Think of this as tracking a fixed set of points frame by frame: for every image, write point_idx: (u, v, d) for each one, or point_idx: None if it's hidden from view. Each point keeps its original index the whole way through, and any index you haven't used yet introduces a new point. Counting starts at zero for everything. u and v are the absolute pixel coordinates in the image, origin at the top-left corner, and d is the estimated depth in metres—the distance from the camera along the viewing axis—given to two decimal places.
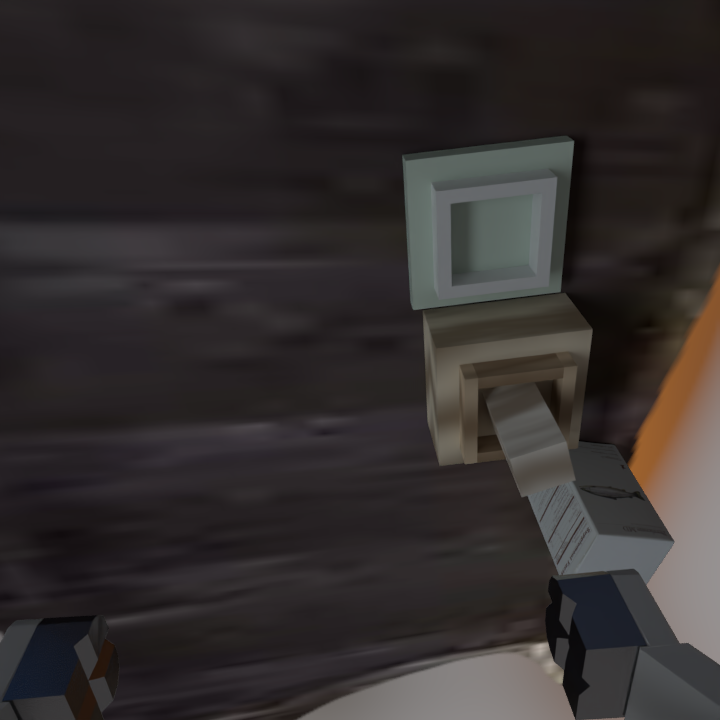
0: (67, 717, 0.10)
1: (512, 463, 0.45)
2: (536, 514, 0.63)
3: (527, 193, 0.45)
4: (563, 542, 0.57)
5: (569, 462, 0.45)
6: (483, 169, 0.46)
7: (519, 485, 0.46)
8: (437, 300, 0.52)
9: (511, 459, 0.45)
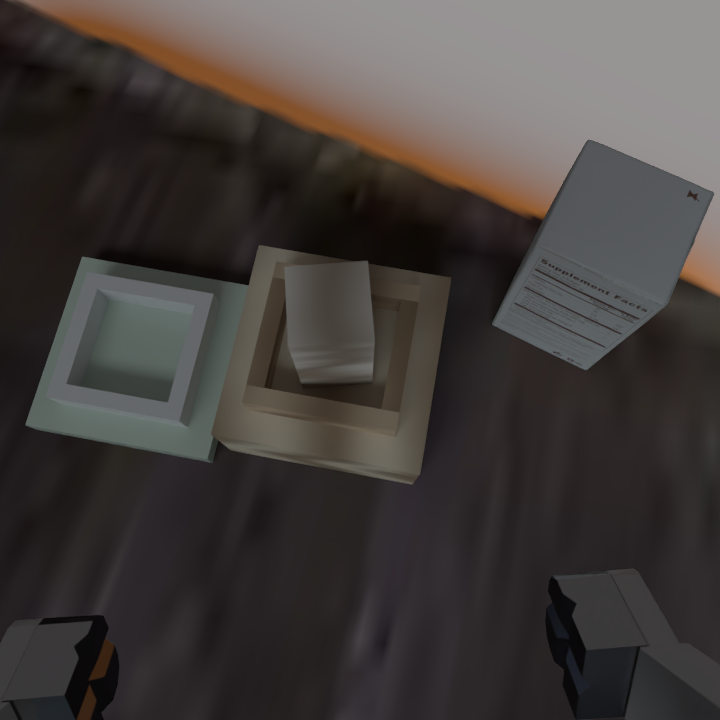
0: (67, 717, 0.10)
1: (297, 343, 0.30)
2: (600, 352, 0.40)
3: (91, 302, 0.42)
4: (596, 305, 0.35)
5: (328, 266, 0.31)
6: None
7: (347, 340, 0.30)
8: (206, 427, 0.41)
9: (289, 344, 0.30)
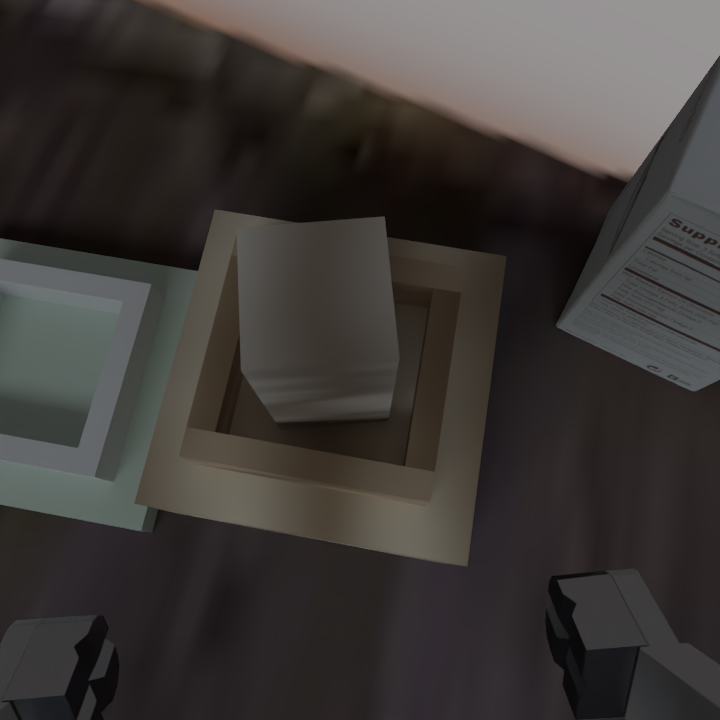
0: (67, 717, 0.10)
1: (258, 365, 0.16)
2: None
3: None
4: None
5: (314, 226, 0.17)
6: None
7: (350, 358, 0.16)
8: None
9: (243, 366, 0.16)
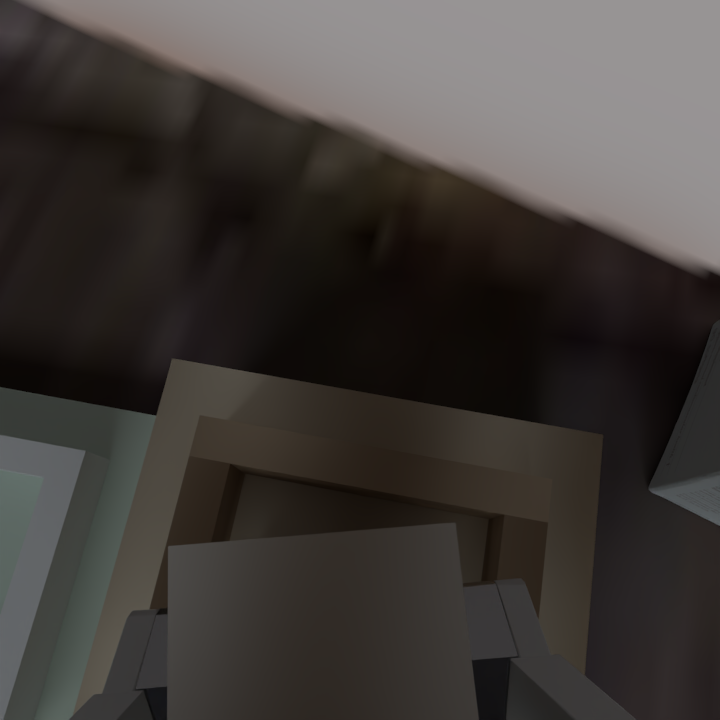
0: None
1: None
2: None
3: None
4: None
5: (319, 542, 0.09)
6: None
7: None
8: None
9: None
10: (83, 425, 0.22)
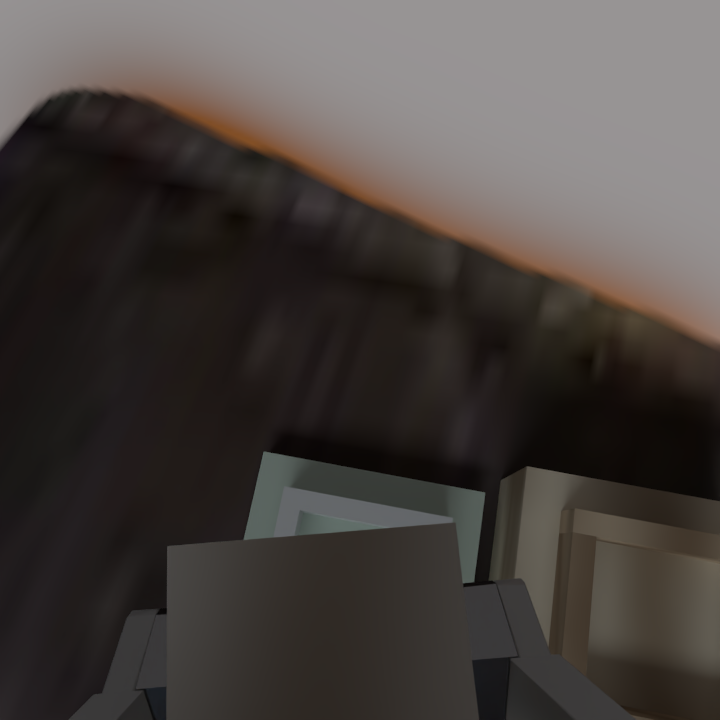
0: None
1: None
2: None
3: (293, 531, 0.32)
4: None
5: (318, 543, 0.09)
6: None
7: None
8: None
9: None
10: (426, 496, 0.34)
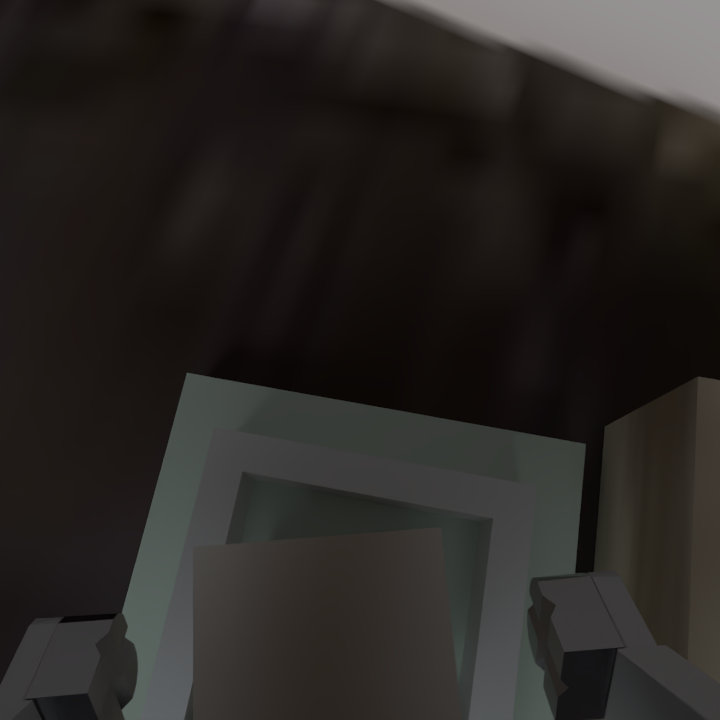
0: (89, 715, 0.10)
1: None
2: None
3: (229, 511, 0.16)
4: None
5: (323, 544, 0.10)
6: None
7: None
8: None
9: None
10: (479, 451, 0.19)
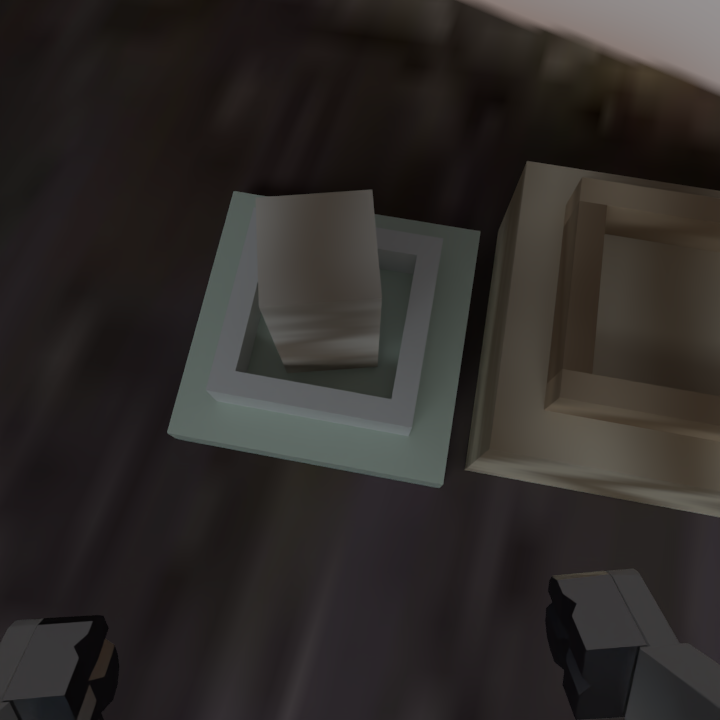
0: (67, 717, 0.10)
1: (272, 302, 0.21)
2: None
3: None
4: None
5: (316, 196, 0.22)
6: None
7: (343, 297, 0.21)
8: (436, 436, 0.28)
9: (260, 303, 0.21)
10: None
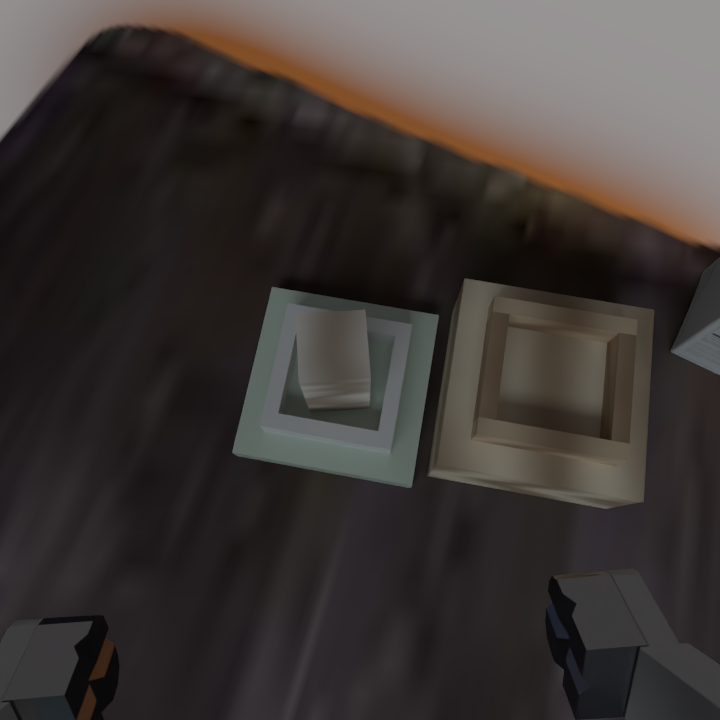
0: (67, 717, 0.10)
1: (306, 379, 0.36)
2: None
3: (294, 333, 0.43)
4: None
5: (332, 313, 0.37)
6: (269, 375, 0.44)
7: (348, 376, 0.36)
8: (407, 454, 0.43)
9: (300, 380, 0.36)
10: (394, 318, 0.45)
